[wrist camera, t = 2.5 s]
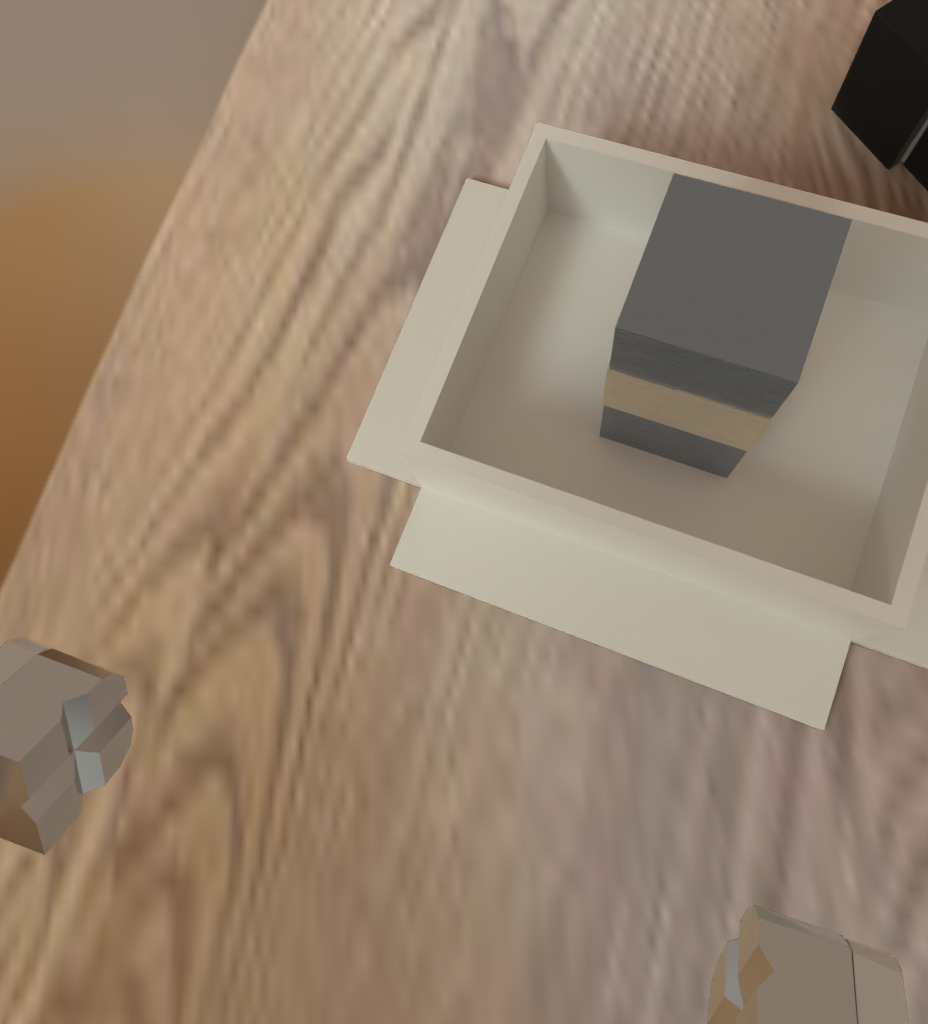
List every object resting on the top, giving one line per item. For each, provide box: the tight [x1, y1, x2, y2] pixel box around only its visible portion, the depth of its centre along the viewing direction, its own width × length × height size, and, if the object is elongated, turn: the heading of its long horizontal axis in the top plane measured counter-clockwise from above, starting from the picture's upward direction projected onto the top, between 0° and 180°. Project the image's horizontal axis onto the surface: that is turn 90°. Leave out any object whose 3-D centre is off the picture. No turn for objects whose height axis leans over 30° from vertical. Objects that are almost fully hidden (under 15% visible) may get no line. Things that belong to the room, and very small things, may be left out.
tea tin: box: [599, 173, 852, 478], centre depth 24 cm, size 5×5×8 cm
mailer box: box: [346, 122, 928, 731], centre depth 26 cm, size 15×21×4 cm
